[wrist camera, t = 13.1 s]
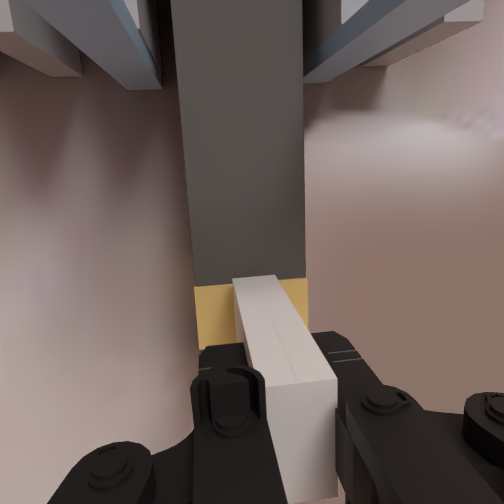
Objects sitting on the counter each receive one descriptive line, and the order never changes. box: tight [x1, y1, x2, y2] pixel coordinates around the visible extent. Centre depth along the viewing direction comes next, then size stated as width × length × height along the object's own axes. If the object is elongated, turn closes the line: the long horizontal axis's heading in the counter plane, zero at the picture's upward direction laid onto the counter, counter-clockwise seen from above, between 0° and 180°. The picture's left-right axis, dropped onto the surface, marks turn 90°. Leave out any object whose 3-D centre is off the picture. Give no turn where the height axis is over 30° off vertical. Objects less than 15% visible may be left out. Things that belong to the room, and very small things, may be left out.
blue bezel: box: [23, 0, 471, 90], centre depth 11 cm, size 8×1×11 cm, turn 93°
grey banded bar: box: [171, 0, 308, 353], centre depth 16 cm, size 4×16×5 cm, turn 3°
